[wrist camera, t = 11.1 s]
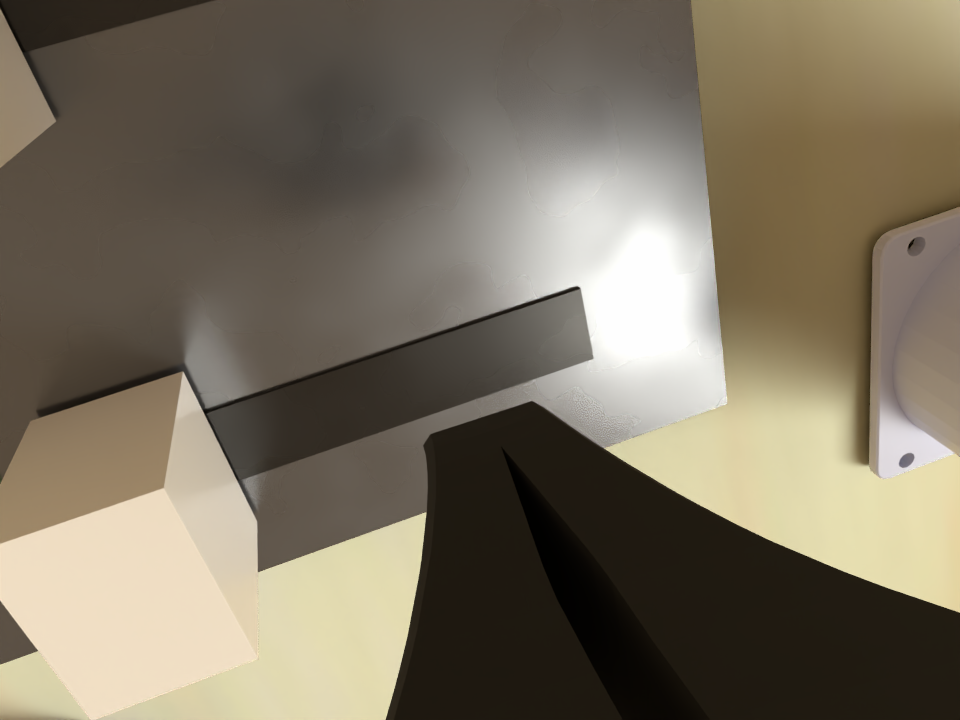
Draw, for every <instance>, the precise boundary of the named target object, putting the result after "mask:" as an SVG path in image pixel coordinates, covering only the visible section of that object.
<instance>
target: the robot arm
mask: <svg viewBox="0 0 960 720" xmlns="http://www.w3.org/2000/svg"><path fill="white" fill-rule="evenodd" d="M914 238H915V239H914ZM913 239H914V242H913V245H912V246H911V247H910V248H909V249H908V245H909V243H910V242H911V241H912V240H913ZM907 249H908V250H907ZM423 447H424V451H425V454H426V462H427V475H428V492H427V514H426V524H425V533H424V542H423V551H422V561H421V567H420V574H419V580H418V585H417V590H416V595H415V601H414V606H413V611H412V616H411V622H410V627H409V632H408V637H407V641H406V646H405V650H404V654H403V658H402V662H401V666H400V670H399V674H398V678H397V682H396V686H395V689H394V693H393V696H392V700H391V703H390V707H389V710H388V714H387V717H386V720H960V613H959V612H956V611H953V610H950V609H947V608H944V607H941V606H938V605H935V604H932V603H929V602H927V601H924V600H921V599H918V598H915V597H912V596H909V595H906V594H903V593H900V592H897V591H894V590H891V589H888V588H886V587H883V586H880V585H878V584H875V583H872V582H870V581H867V580H864V579H862V578H859V577H856V576H854V575H851V574H848V573H846V572H843V571H841V570H838V569H836V568H833V567H831V566H829V565H826V564H824V563H822V562H819V561H817V560H814V559H812V558H810V557H807V556H805V555H803V554H800V553H798V552H795V551H793V550H791V549H788V548H786V547H784V546H781V545H779V544H776V543H774V542H772V541H770V540H768V539H765V538H763V537H761V536H759V535H757V534H755V533H753V532H751V531H749V530H747V529H745V528H743V527H741V526H738V525H737V524H735V523H733V522H731V521H729V520H727V519H725V518H723V517H721V516H719V515H717V514H715V513H713V512H711V511H710V510H708V509H706V508H704V507H702V506H700V505H698V504H696V503H694V502H693V501H691V500H689V499H687V498H685V497H684V496H682V495H680V494H678V493H676V492H675V491H673V490H671V489H669V488H668V487H666V486H664V485H662V484H661V483H659V482H657V481H656V480H654V479H652V478H651V477H649V476H647V475H646V474H644V473H642V472H641V471H639V470H637V469H636V468H634V467H632V466H631V465H629V464H627V463H626V462H624V461H622V460H621V459H619V458H618V457H616V456H615V455H613V454H611V453H610V452H608V451H607V450H605V449H604V448H602V447H601V446H599V445H598V444H596V443H595V442H593V441H592V440H590V439H589V438H587V437H586V436H584V435H583V434H581V433H580V432H578V431H577V430H575V429H574V428H572V427H571V426H570V425H568V424H567V423H565V422H564V421H562V420H561V419H560V418H558V417H557V416H555V415H554V414H553V413H551V412H550V411H548V410H547V409H546V408H544V407H543V406H541V405H539V404H537V403H535V402H533V401H530V402H527V403H524V404H521V405H518V406H515V407H512V408H509V409H506V410H502V411H499V412H496V413H493V414H490V415H487V416H484V417H481V418H478V419H475V420H472V421H469V422H466V423H463V424H460V425H457V426H454V427H450V428H447V429H444V430H441V431H438V432H435V433H432V434H430V435H429V437H428V439H427V440H426V442H425V443H424V445H423ZM952 454H957V455H958V456H959V457H960V207H957V208H954V209H952V210H949V211H946V212H943V213H940V214H937V215H934V216H931V217H928V218H925V219H922V220H919V221H916V222H913V223H910V224H907V225H905V226H902V227H899V228H896V229H893V230H890V231H888V232H886V233H884V234H883V235H882V236H881V237H880V238H879V239H878V240H877V242H876V244H875V246H874V249H873V257H872V317H871V378H870V438H869V467H870V470H871V471H872V472H873V473H874V474H876V475H877V476H878V477H879V478H882V479H887V478H892V477H894V476H897V475H900V474H902V473H905V472H907V471H910V470H913V469H915V468H918V467H921V466H923V465H926V464H929V463H931V462H934V461H936V460H939V459H942V458H944V457H947V456H950V455H952Z"/></svg>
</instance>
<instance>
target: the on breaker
mask: <svg viewBox="0 0 960 720" xmlns="http://www.w3.org/2000/svg"><path fill="white" fill-rule="evenodd" d="M0 601H1V602H2V604H3V605H4V606H5V608H6V609H7V610H8V612H9V613H10V614H11V616H12V617H13V618H14V620H15V621H16V622H17V624H18V625H19V626H20V628H21V629H22V630H23V631H24V633H25V634H26V635H27V637H28V638H29V639H30V641H31V642H32V643H33V645H34V646H35V647H36V649H37V650H38V651H39V653H40V654H41V655H42V657H43V658H44V659H45V661H46V662H47V663H48V665H49V666H50V667H51V669H52V670H53V671H54V672H55V674H56V675H57V676H58V678H59V679H60V680H61V682H62V683H63V684H64V686H65V687H66V688H67V690H68V691H69V692H70V694H71V695H72V696H73V698H74V699H75V700H76V702H77V703H78V704H79V706H80V707H81V708H82V709H83V711H84V712H85V713H86V715H87V716H88V717H89V719H90V720H95V719H98V718H101V717H103V716H106V715H109V714H112V713H114V712H117V711H120V710H122V709H125V708H128V707H130V706H133V705H136V704H139V703H141V702H144V701H147V700H149V699H152V698H155V697H157V696H160V695H163V694H165V693H168V692H171V691H174V690H176V689H179V688H182V687H184V686H187V685H190V684H192V683H195V682H198V681H201V680H203V679H206V678H209V677H211V676H214V675H217V674H219V673H222V672H225V671H228V670H230V669H233V668H236V667H238V666H241V665H244V664H246V663H249V662H252V661H254V660H257V659H259V643H258V550H257V520H256V518H255V516H254V514H253V512H252V510H251V508H250V506H249V504H248V502H247V500H246V498H245V496H244V494H243V492H242V490H241V488H240V486H239V484H238V482H237V480H236V478H235V476H234V473H233V471H232V469H231V467H230V465H229V463H228V461H227V459H226V457H225V455H224V453H223V451H222V449H221V447H220V445H219V443H218V441H217V439H216V437H215V435H214V433H213V431H212V429H211V427H210V425H209V423H208V421H207V419H206V417H205V415H204V413H203V411H202V408H201V406H200V404H199V402H198V400H197V398H196V396H195V394H194V392H193V390H192V388H191V386H190V384H189V382H188V380H187V378H186V376H185V374H184V372H183V371H182V372H179V373H176V374H173V375H170V376H167V377H164V378H161V379H158V380H155V381H152V382H149V383H145V384H142V385H139V386H136V387H133V388H130V389H127V390H124V391H121V392H118V393H115V394H112V395H109V396H106V397H103V398H99V399H96V400H93V401H90V402H87V403H84V404H81V405H78V406H75V407H72V408H69V409H66V410H63V411H60V412H57V413H53V414H50V415H47V416H44V417H41V418H38V419H35V420H32V421H30V423H29V425H28V427H27V429H26V431H25V433H24V436H23V438H22V440H21V442H20V444H19V446H18V448H17V450H16V452H15V454H14V456H13V459H12V461H11V463H10V465H9V467H8V469H7V471H6V473H5V475H4V477H3V479H2V482H1V484H0Z"/></svg>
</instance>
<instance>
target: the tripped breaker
mask: <svg viewBox="0 0 960 720" xmlns="http://www.w3.org/2000/svg"><path fill="white" fill-rule="evenodd" d="M55 122H56V120H55V118H54V116H53V114H52V112H51V110H50V108H49V106H48V104H47V102H46V100H45V98H44V96H43V94H42V92H41V90H40V88H39V86H38V84H37V82H36V80H35V78H34V76H33V74H32V72H31V70H30V68H29V66H28V63H27V61H26V59H25V57H24V55H23V53H22V51H21V49H20V47H19V45H18V43H17V41H16V39H15V37H14V35H13V33H12V31H11V29H10V27H9V25H8V23H7V21H6V19H5V17H4V15H3V13H2V11H1V9H0V168H1V167H2V166H3V165H4V164H5V163H7V162H8V161H9V160H10V159H11V158H13V157H14V156H15V155H16V154H17V153H19V152H20V151H21V150H22V149H23V148H25V147H26V146H27V145H28V144H30V143H31V142H32V141H33V140H34V139H36V138H37V137H38V136H39V135H40V134H42V133H43V132H44V131H45V130H46V129H48V128H49V127H50V126H51V125H52V124H54V123H55Z"/></svg>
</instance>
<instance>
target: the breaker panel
mask: <svg viewBox="0 0 960 720" xmlns="http://www.w3.org/2000/svg"><path fill="white" fill-rule="evenodd" d="M0 9H1V11H2V13H3V15H4V17H5V19H6V21H7V23H8V25H9V27H10V29H11V31H12V33H13V35H14V37H15V39H16V41H17V43H18V45H19V47H20V49H21V51H22V53H23V55H24V57H25V59H26V61H27V63H28V66H29V68H30V70H31V72H32V74H33V76H34V78H35V80H36V82H37V84H38V86H39V88H40V90H41V92H42V94H43V96H44V98H45V100H46V102H47V104H48V106H49V108H50V110H51V112H52V114H53V116H54V118H55V120H56V122H55V123H54V124H52V125H51V126H50V127H49V128H48V129H46V130H45V131H44V132H43V133H42V134H40V135H39V136H38V137H37V138H36V139H34V140H33V141H32V142H31V143H30V144H28V145H27V146H26V147H25V148H23V149H22V150H21V151H20V152H19V153H17V154H16V155H15V156H14V157H13V158H11V159H10V160H9V161H8V162H7V163H5V164H4V165H3V166H2V167H1V168H0V484H1V482H2V479H3V477H4V475H5V473H6V471H7V469H8V467H9V465H10V463H11V461H12V459H13V456H14V454H15V452H16V450H17V448H18V446H19V444H20V442H21V440H22V438H23V436H24V433H25V431H26V429H27V427H28V425H29V423H30V421H32V420H35V419H38V418H41V417H44V416H47V415H50V414H53V413H57V412H60V411H63V410H66V409H69V408H72V407H75V406H78V405H81V404H84V403H87V402H90V401H93V400H96V399H99V398H103V397H106V396H109V395H112V394H115V393H118V392H121V391H124V390H127V389H130V388H133V387H136V386H139V385H142V384H145V383H149V382H152V381H155V380H158V379H161V378H164V377H167V376H170V375H173V374H176V373H179V372H182V371H183V372H184V374H185V376H186V378H187V380H188V382H189V384H190V386H191V388H192V390H193V392H194V394H195V396H196V398H197V400H198V402H199V404H200V406H201V408H202V411H203V413H204V415H205V417H206V419H207V421H208V423H209V425H210V427H211V429H212V431H213V433H214V435H215V437H216V439H217V441H218V443H219V445H220V447H221V449H222V451H223V453H224V455H225V457H226V459H227V461H228V463H229V465H230V467H231V469H232V471H233V473H234V476H235V478H236V480H237V482H238V484H239V486H240V488H241V490H242V492H243V494H244V496H245V498H246V500H247V502H248V504H249V506H250V508H251V510H252V512H253V514H254V516H255V518H256V520H257V550H258V572H260V571H263V570H265V569H268V568H271V567H274V566H276V565H279V564H282V563H285V562H288V561H290V560H293V559H296V558H299V557H302V556H304V555H307V554H310V553H313V552H316V551H318V550H321V549H324V548H327V547H329V546H332V545H335V544H338V543H341V542H343V541H346V540H349V539H352V538H355V537H357V536H360V535H363V534H366V533H369V532H371V531H374V530H377V529H380V528H383V527H385V526H388V525H391V524H394V523H396V522H399V521H402V520H405V519H408V518H410V517H413V516H416V515H419V514H422V513H424V512H427V492H428V475H427V462H426V454H425V451H424V447H423V445H424V443H425V442H426V440H427V439H428V437H429V435H430V434H432V433H435V432H438V431H441V430H444V429H447V428H450V427H454V426H457V425H460V424H463V423H466V422H469V421H472V420H475V419H478V418H481V417H484V416H487V415H490V414H493V413H496V412H499V411H502V410H506V409H509V408H512V407H515V406H518V405H521V404H524V403H527V402H530V401H533V402H535V403H537V404H539V405H541V406H543V407H544V408H546V409H547V410H548V411H550V412H551V413H553V414H554V415H555V416H557V417H558V418H560V419H561V420H562V421H564V422H565V423H567V424H568V425H570V426H571V427H572V428H574V429H575V430H577V431H578V432H580V433H581V434H583V435H584V436H586V437H587V438H589V439H590V440H592V441H593V442H595V443H596V444H598V445H599V446H601V447H602V448H606V447H609V446H611V445H614V444H617V443H620V442H622V441H625V440H628V439H631V438H634V437H636V436H639V435H642V434H645V433H648V432H650V431H653V430H656V429H659V428H662V427H664V426H667V425H670V424H673V423H676V422H678V421H681V420H684V419H687V418H689V417H692V416H695V415H698V414H701V413H703V412H706V411H709V410H712V409H715V408H717V407H720V406H723V405H726V404H727V393H726V382H725V371H724V360H723V349H722V338H721V328H720V317H719V306H718V295H717V284H716V273H715V262H714V251H713V240H712V229H711V218H710V207H709V197H708V186H707V175H706V164H705V153H704V142H703V131H702V120H701V109H700V98H699V87H698V76H697V66H696V55H695V44H694V33H693V22H692V11H691V0H0ZM36 651H38V650H37V649H36V647H35V646H34V645H33V643H32V642H31V641H30V639H29V638H28V637H27V635H26V634H25V633H24V631H23V630H22V629H21V628H20V626H19V625H18V624H17V622H16V621H15V620H14V618H13V617H12V616H11V614H10V613H9V612H8V610H7V609H6V608H5V606H4V605H3V604H2V602H1V601H0V664H3V663H6V662H9V661H11V660H14V659H17V658H20V657H23V656H25V655H28V654H31V653H34V652H36Z"/></svg>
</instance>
